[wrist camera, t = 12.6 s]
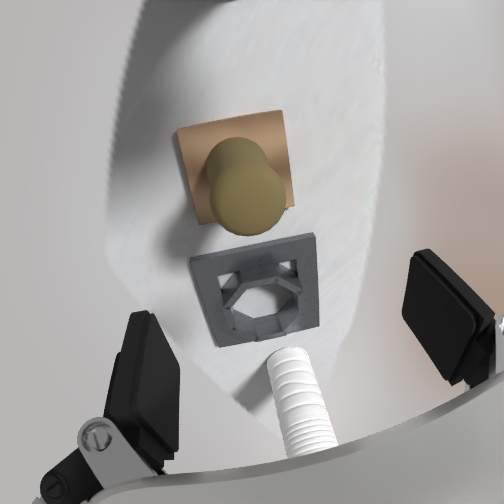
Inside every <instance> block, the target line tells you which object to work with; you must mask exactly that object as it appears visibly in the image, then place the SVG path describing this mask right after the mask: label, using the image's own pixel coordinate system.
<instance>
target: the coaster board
mask: <svg viewBox="0 0 504 504" xmlns="http://www.w3.org/2000/svg"><path fill="white" fill-rule="evenodd" d="M176 131H177V135H178V140H179V144H180V148H181V153H182V157H183V161H184V165H185V170H186V174H187V178H188V182H189V186H190V190H191V194H192V198H193V202H194V206H195V210H196V214H197V218H198V222H199V225H204V224H208V223H213V222H217V220H216V219H215V217H214V215H213V213H212V212H211V207H210V202H209V197H210V191H211V184H210V182H209V180H208V178H207V174H206V169H205V167H206V161H207V157H208V155H209V153H210V151H211V150H212V149H213V148H214V147H215V146H216V145H217V144H218V143H219V142H221V141H223V140H225V139H227V138H233V137H242V138H248V139H250V140H252V141H253V142H255V143H257V144H258V145H259V146H260V147H261V148H262V149H263V151H264V153H265V155H266V157H267V161H268V166H269V167H271V168H272V169H273V170H274V171H275V172H276V173H277V174H278V176H279V177H280V178H281V180H282V182H283V184H284V186H285V190H286V205H285V208H288V207H293V206H295V205H294V196H293V188H292V179H291V171H290V164H289V156H288V148H287V141H286V134H285V127H284V120H283V113H282V110H275V111H268V112H262V113H255V114H249V115H243V116H238V117H232V118H227V119H222V120H217V121H212V122H207V123H202V124H198V125H193V126H189V127H185V128H181V129H177V130H176Z"/></svg>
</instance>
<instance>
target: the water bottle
mask: <svg viewBox="0 0 504 504" xmlns="http://www.w3.org/2000/svg"><path fill="white" fill-rule="evenodd" d="M267 370H268V374H269V377H270V383H271V387H272V392H273V396H274V400H275V406H276V408H277V415H278V419H279V421H280V428H281V432H282V435H283V440H284V445H285V449H286V452H287V453H286V454H287V457H288V459H290V458H294V457H298V456H303V455H307V454H311V453H314V452H318V451H322V450H326V449H329V448H333V447H336V446H339V445H338V444H337V440H336V437H335V434H334V431H333V428H332V425H331V423H330V419H329V415H328V412H327V410H326V408H325V403H324V400H323V398H322V396H321V392H320V389H319V387H318V383H317V380H316V378H315V375H314V371H313V369H312V367H311V363H310V360H309V357H308V354H307V353H306V351H305V350H303V349H302V348H299V347H286V348H282V349H281V350H278V351H276V352H274V353H273V354H272V355H271V356H270V357H269V358H268V360H267Z"/></svg>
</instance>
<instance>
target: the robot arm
mask: <svg viewBox="0 0 504 504" xmlns="http://www.w3.org/2000/svg"><path fill="white" fill-rule="evenodd" d="M494 315H495V313H494V312H493V311H492V309H491V308H490V307H489V306H488V305H487V304H486V303H485V302H484V301H483V300H482V299H481V298H480V297H479V296H478V295H477V294H476V293H475V292H474V291H473V290H472V289H471V288H470V287H469V286H468V285H467V284H466V283H465V282H464V281H463V280H462V279H461V278H460V277H459V276H458V275H457V274H456V273H455V272H454V271H453V270H452V269H451V268H450V267H449V266H448V265H447V264H446V263H445V262H443V261H442V260H441V259H440V258H439V257H438V256H437V255H436V254H435V253H434V252H432V251H431V250H430V249H424V250H420V251H417V252H415V253H414V255H413V257H411V260H410V266H409V273H408V279H407V286H406V291H405V297H404V302H403V307H402V316H403V319H404V320H405V321H406V323H407V324H408V326H409V327H410V329H411V330H412V332H413V333H414V335H415V336H416V338H417V339H418V341H419V342H420V343H421V345H422V346H423V348H424V349H425V351H426V352H427V354H428V355H429V357H430V358H431V360H432V361H433V363H434V364H435V366H436V367H437V369H438V371H439V372H440V374H441V375H442V377H443V378H444V379H445V380H448V381H449V383H450V384H451V386H453V385H455V384H457V383H459V382H461V381H462V380H463V379H464V381H465V382H466V386H465V393H463V394H461V395H459V396H458V397H456V398H454V399H452V400H450V401H449V402H446V403H444V404H442V405H440V406H438V407H436V408H434V409H432V410H430V411H428V412H426V413H424V414H421V415H419V416H417V417H415V418H413V419H410V420H408V421H406V422H403V423H401V424H399V425H396V426H394V427H391V428H388V429H386V430H384V431H381V432H378V433H375V434H373V435H370V436H367V437H364V438H361V439H358V440H355V441H353V442H349V443H346V444H343V445H339V446H336V447H333V448H329V449H326V450H322V451H318V452H314V453H311V454H307V455H303V456H298V457H294V458H290V459H285V460H280V461H275V462H270V463H264V464H259V465H253V466H246V467H239V468H232V469H224V470H217V471H206V472H196V473H183V474H182V473H181V474H170V475H168V474H167V473H166V472H165V470H164V469H163V467H164V460H174V452H177V451H178V449H179V391H180V367H179V363H178V361H177V359H176V357H175V355H174V353H173V351H172V349H171V347H170V345H169V343H168V341H167V339H166V337H165V335H164V333H163V331H162V329H161V327H160V325H159V323H158V321H157V319H156V317H155V315H154V314H153V313H152V314H150V313H149V312H148V311H147V310H145V311H139V312H133V313H131V315H130V318H129V322H128V325H127V329H126V333H125V337H124V341H123V345H122V349H121V352H119V353H118V354H117V356H116V359H115V363H114V367H113V372H112V376H111V380H110V385H109V390H108V394H107V399H106V404H105V409H104V415H103V417H97V418H92V419H90V420H88V421H87V422H86V423H85V424H83V426H82V427H81V428H80V430H79V432H78V436H77V444H78V446H79V447H78V448H77V449H76V450H75V451H73V452H72V453H71V454H70V455H69V456H67V457H66V458H65V459H64V460H62V461H61V462H60V463H59V464H57V465H56V466H55V467H54V468H52V469H51V470H50V471H49V472H47V473H46V474H45V475H44V477H43V478H42V481H41V484H40V493H41V498H38V497H36V499H35V500H34V502H33V503H32V504H504V315H501V316H500V317H498V318H497V320H496V321H495V319H494Z"/></svg>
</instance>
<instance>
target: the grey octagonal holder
mask: <svg viewBox="0 0 504 504" xmlns="http://www.w3.org/2000/svg"><path fill="white" fill-rule="evenodd" d="M294 259H295V265H296V273H295V272H293V271H291V270H289V269H288V268H286V267H284V266H283V265H281V264H279V263H280V262H284V261H289V260H294ZM191 265H192V268H193V271H194V274H195V278H196V281H197V284H198V287H199V290H200V293H201V296H202V299H203V302H204V305H205V308H206V311H207V314H208V317H209V320H210V323H211V326H212V329H213V332H214V334H215V337H216V340H217V343H218V346H219V348H220V347H226V346H231V345H237V344H242V343H247V342H252V341H254V342H258V341H263V340H268V339H273V338H277V337H282V336H286V335H287V334H289V333H293V332H298V331H302V330H306V329H310V328H314V327H318V326H319V293H318V271H317V253H316V237H315V235H314V233H313V232H312V233H307V234H302V235H297V236H292V237H287V238H282V239H277V240H273V241H268V242H263V243H258V244H253V245H248V246H243V247H238V248H234V249H229V250H224V251H219V252H214V253H210V254H205V255H200V256H195V257H191ZM232 272H234V274H233V275H232V276H231V278H230V279H229V280H228V281H227V283H226V284H225V285H224V287H223V288H222V289H221V286H220V282H219V278H218V275H222V274H227V273H232ZM272 283H277V284H279V285H281V286H283V287H285V288H286V289H288V290H290V291H292V298H291V299H290V300H289V301H288V302H287V303H286V305H285V306H284V307H283V308H282V309H281V310H280V311H279V312H278V313H277V314H273V315H268V316H264V317H259V318H251V317H249V316H247V315H245V314H243V313H240V312H238V311H236V310H234V309H233V305H234V304H235V303H236V301H237V300H238V299H239V298H240V297H241V295H242V294H243V293H244V292H245V290H246V289H248V288H253V287H258V286H263V285H268V284H272Z"/></svg>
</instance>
